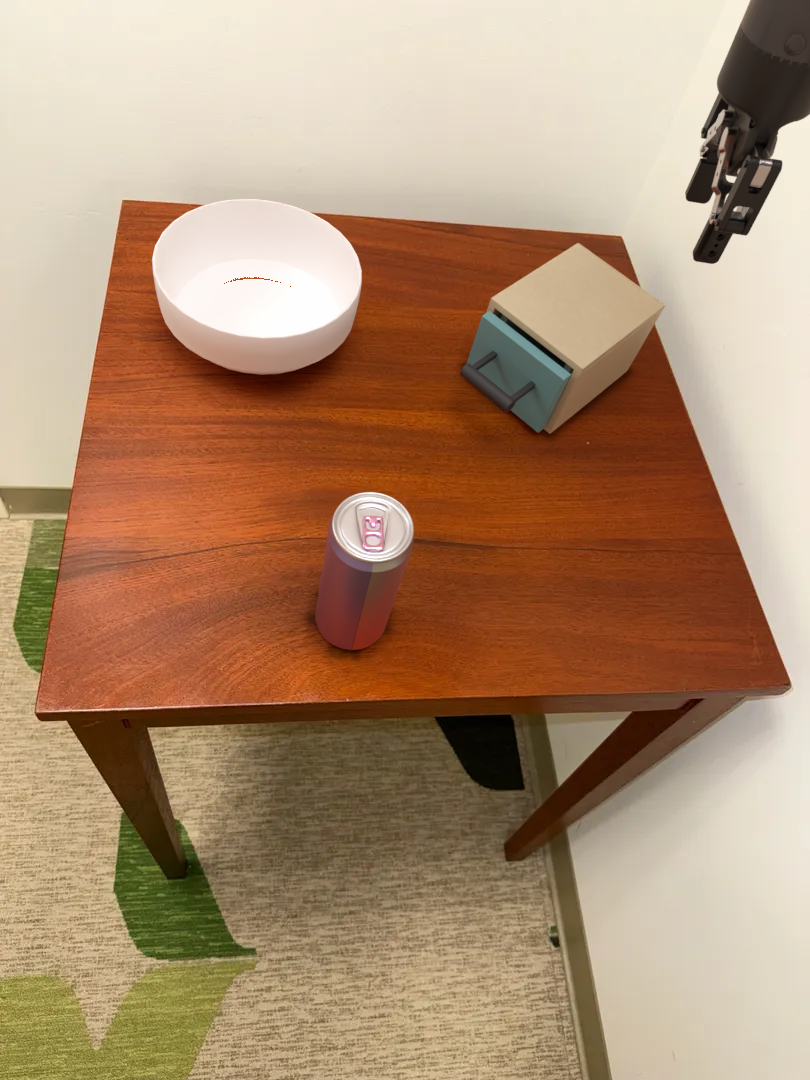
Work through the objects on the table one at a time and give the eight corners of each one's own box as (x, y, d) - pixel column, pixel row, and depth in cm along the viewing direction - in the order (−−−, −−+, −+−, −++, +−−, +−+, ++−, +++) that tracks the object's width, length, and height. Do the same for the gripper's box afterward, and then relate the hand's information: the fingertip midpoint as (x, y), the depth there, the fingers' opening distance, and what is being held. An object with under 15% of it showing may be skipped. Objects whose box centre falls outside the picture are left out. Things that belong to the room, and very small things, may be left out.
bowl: (185, 252, 84) (179, 182, 77) (362, 284, 86) (372, 219, 79) (139, 383, 74) (126, 316, 67) (341, 417, 76) (350, 355, 68)
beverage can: (313, 651, 62) (328, 561, 50) (315, 587, 65) (330, 486, 53) (386, 654, 63) (418, 566, 51) (385, 590, 66) (415, 492, 54)
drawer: (509, 456, 75) (533, 403, 69) (433, 392, 78) (449, 336, 72) (612, 373, 84) (642, 319, 77) (540, 318, 87) (564, 262, 80)
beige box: (549, 434, 79) (583, 368, 71) (467, 367, 82) (490, 297, 74) (627, 371, 86) (665, 305, 78) (549, 311, 89) (578, 242, 81)
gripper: (866, 93, 50) (750, 289, 64) (829, -7, 58) (732, 188, 72) (755, 74, 50) (662, 275, 64) (732, -23, 58) (653, 175, 72)
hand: (699, 229), depth 68 cm, fingers open, 8 cm apart
